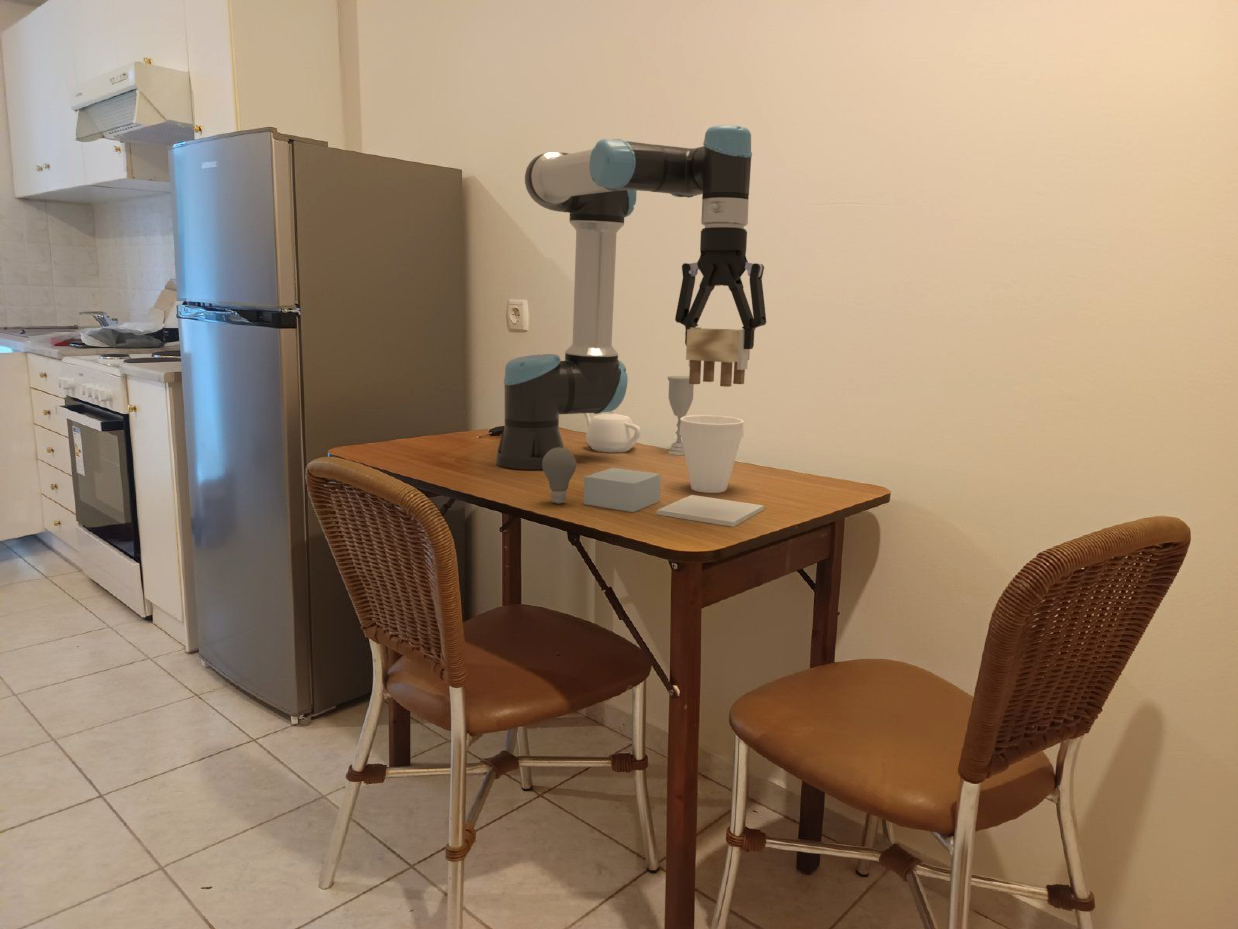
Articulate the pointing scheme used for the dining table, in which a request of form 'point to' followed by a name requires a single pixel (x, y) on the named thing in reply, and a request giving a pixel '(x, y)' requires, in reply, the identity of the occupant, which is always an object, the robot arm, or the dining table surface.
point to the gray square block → (622, 489)
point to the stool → (713, 355)
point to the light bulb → (559, 472)
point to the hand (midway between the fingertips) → (717, 367)
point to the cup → (710, 450)
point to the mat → (711, 510)
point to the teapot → (611, 432)
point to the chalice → (679, 405)
